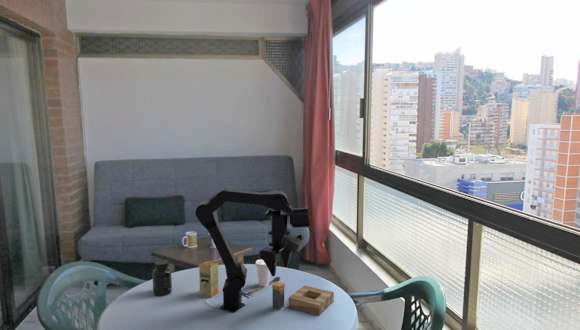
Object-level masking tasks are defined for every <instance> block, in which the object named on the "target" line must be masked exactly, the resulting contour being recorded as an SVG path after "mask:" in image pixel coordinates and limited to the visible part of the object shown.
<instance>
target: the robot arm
mask: <svg viewBox="0 0 580 330" xmlns="http://www.w3.org/2000/svg"><path fill="white" fill-rule="evenodd" d="M227 202H229V203H239V204H240V203H241V204H247V205H248V204H249V205H259V206H263V207H265V208H268V210H267V211H266V212H265V215H264V216H265V217H270V230H269V231H268V235H270V236H271V237H270V242H268V247H267V246H266V247H264V248H262V249H261V250H260V251H259V252H258V258H259V260H260V259H261V260H263V261H264V262H265V264H266V265H267V267H268V269H269V271H270V274H271V275H270V276H272V277H276V273H277V263H278V261H279V260H282V263H283V266H284V267H285V268H288V266H289V264H290V260H291V256H292V253H295V254H297V253H299V252H300V251H301V250H302V248H303V246H304V245H305V244H306V243H305V237H304V236H305V235H303V234H302V233H299V234H297V235H292V234H291V232H292V231H291V230H290V229H288V220H289V225H290V226H291V227H292V228H293V229H297V228H300V229H301V228H309V227H310V218H309V208H308V207H306V206H305V207H298V208H297V207H296V208H295V207H294V208H293V206H292V205H291V204H290V202H289V201H288V197H287V194H286V193H285V192H284V191H282V190H269V191H262V192H259V191H249V190H240V189H239V190H237V189H230V188H226V187H225V188H222V189H221V190H219V192H217V194H215V195H213V196H212V197H211V198H210V199H208V200H204V201H201V202H200V203H199V204H198V206H197V207H196V209H195V212H194V213H195V217H196V218H197V220H198V222H199V223H200V224H201V225H202V226H203V227H204V228H205V229H206V230H207V232H208V234H209V236H210V238H211V239H212V242H213V244H214V245H215V248H216V250H217V252H218V254H219V257H220V258H221V261H222V263H223V265H224V267H225V272H226V277H227V278H226V279H225V281H224V284H223V287H222V296H223V297H222V299H223V303H222V305H220V306H219V309H220V310H221V309H222V310H224V311H227V312H231V313H236V312H238V311H239V310H240V309H242V308H243V307H244V306H246V304H245V303H244V302H242V301H243V299H242V297H243V295H242V289H243V288H244V287H245V285H246V281H247V276H248V269H247V268H246V266H245V264H244V261H243V260H241V261H238V259H236V257H235V255H234V253H233V251H232V248H231V246H230V243H229V242H228V240H227V238H226V236H225V234H224V231H223V230H222V228H221V225H220V223H219V217H218V212H217V210H218V209H219V208H220V207H221V206H222V205H223V204H225V203H227ZM288 216H289V219H288ZM280 256H281V257H280Z"/></svg>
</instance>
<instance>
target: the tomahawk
mask: <svg viewBox="0 0 580 330" xmlns="http://www.w3.org/2000/svg"><path fill="white" fill-rule="evenodd" d="M279 280H281V277H280V276H275V277H274V278H272V280H271V281H269V284H268V286H267V287H269V286H271V285H273V284H274V283H276V282H278V281H279ZM265 288H266V287H265V286H258V287H256V288H254V289H252V290H250V291H248V292H245V291H243V292H242V297H244V298H247V299H251V298H250V297H252V295H253V294H255V293H256V292H258V291H260V290H262V289H265Z"/></svg>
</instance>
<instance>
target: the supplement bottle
mask: <svg viewBox="0 0 580 330" xmlns="http://www.w3.org/2000/svg"><path fill="white" fill-rule="evenodd" d="M172 279H173V278H172V269H171V268H170V267H169V260H165V259H163V260H162V259H161V260H157V261H155V263H154V270H152V293H153V294H154V296H156V297H164V296H168V295H170V294H171V293H172V290H173V285H172V284H173V283H172V282H173V281H172Z"/></svg>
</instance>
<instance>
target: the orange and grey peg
mask: <svg viewBox="0 0 580 330" xmlns="http://www.w3.org/2000/svg"><path fill="white" fill-rule="evenodd" d="M285 285H286V283H284V282H280V281H276V282H275V283H273V284H271V289H272V297H271V298H272V299H271V300H272V309H275V310H279V311H281V310H282V309H283V308H285Z"/></svg>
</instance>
